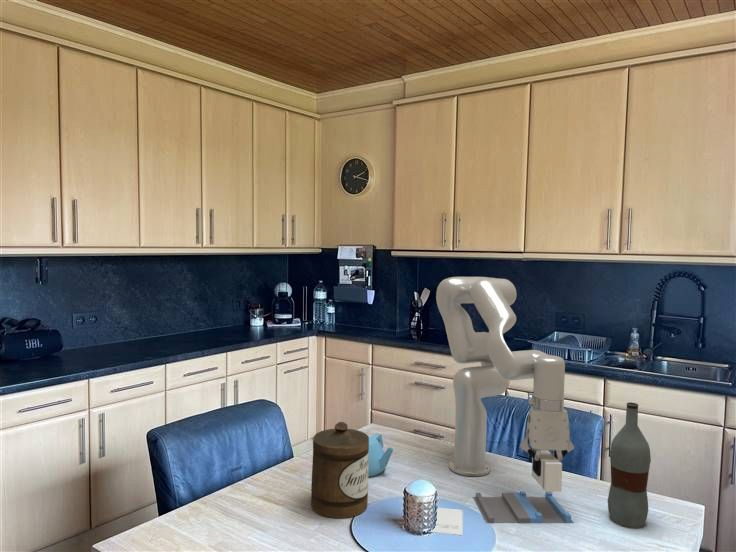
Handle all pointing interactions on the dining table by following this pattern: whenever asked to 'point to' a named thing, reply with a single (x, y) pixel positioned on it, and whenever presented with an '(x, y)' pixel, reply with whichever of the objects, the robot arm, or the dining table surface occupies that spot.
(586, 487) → the dining table surface
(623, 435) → the bottle
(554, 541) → the dining table surface
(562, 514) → the board
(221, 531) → the dining table surface
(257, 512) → the dining table surface
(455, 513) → the external hard drive
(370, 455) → the teapot
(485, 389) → the robot arm
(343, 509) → the wooden container
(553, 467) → the block
